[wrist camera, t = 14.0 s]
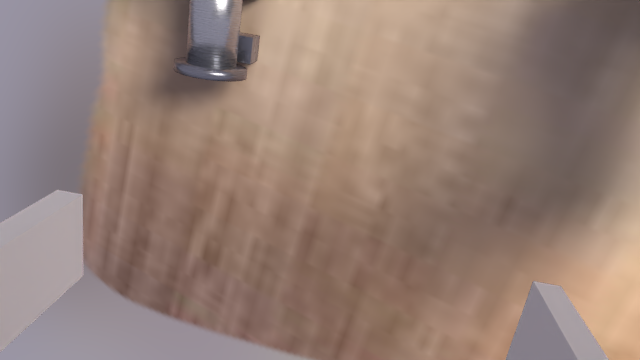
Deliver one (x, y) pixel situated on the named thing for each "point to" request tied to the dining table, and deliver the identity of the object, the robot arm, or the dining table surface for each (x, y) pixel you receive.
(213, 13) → the grey metal parts
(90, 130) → the dining table surface
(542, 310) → the robot arm
